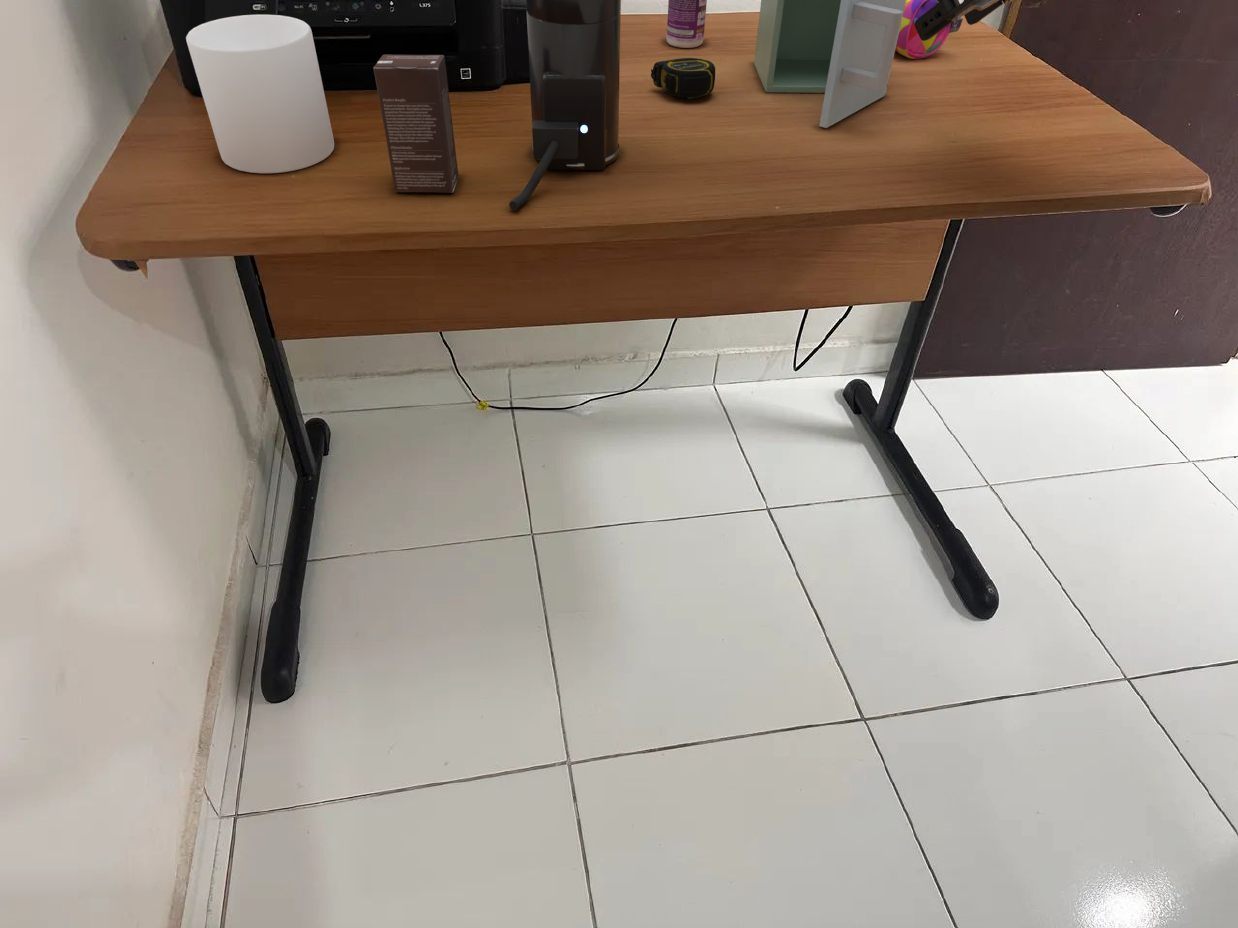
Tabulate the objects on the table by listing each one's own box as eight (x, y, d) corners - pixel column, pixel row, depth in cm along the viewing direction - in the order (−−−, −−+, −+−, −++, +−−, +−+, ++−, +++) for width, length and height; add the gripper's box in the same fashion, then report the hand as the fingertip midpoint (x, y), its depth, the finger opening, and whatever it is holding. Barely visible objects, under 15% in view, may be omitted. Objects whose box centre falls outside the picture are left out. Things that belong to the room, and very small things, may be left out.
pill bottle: (704, 49, 121) (710, -28, 115) (666, 48, 121) (670, -29, 115) (702, 37, 125) (708, -38, 119) (665, 36, 125) (669, -39, 119)
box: (459, 176, 90) (446, 53, 81) (453, 195, 86) (438, 69, 78) (401, 175, 90) (382, 51, 81) (392, 194, 86) (371, 67, 78)
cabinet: (880, 94, 110) (912, -56, 99) (765, 92, 109) (785, -58, 98) (860, 65, 118) (888, -76, 107) (753, 63, 117) (770, -78, 106)
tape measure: (697, 82, 112) (700, 51, 109) (723, 100, 107) (726, 68, 104) (649, 89, 110) (651, 57, 107) (673, 107, 105) (675, 75, 102)
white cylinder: (356, 139, 96) (334, 22, 88) (292, 181, 88) (262, 57, 80) (266, 123, 99) (237, 9, 91) (197, 163, 91) (158, 41, 82)
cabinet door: (923, 106, 106) (961, -44, 95) (866, 140, 98) (900, -20, 87) (878, 93, 109) (909, -54, 98) (818, 126, 101) (846, -31, 90)
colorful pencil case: (957, 57, 121) (976, -14, 115) (904, 66, 118) (921, -7, 112) (860, 15, 135) (872, -50, 129) (810, 22, 132) (821, -45, 126)
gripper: (1115, -137, 78) (966, -21, 92) (1034, -121, 71) (886, 2, 85) (1148, -59, 79) (995, 44, 93) (1071, -35, 71) (918, 73, 85)
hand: (943, 24), depth 89 cm, fingers open, 8 cm apart
